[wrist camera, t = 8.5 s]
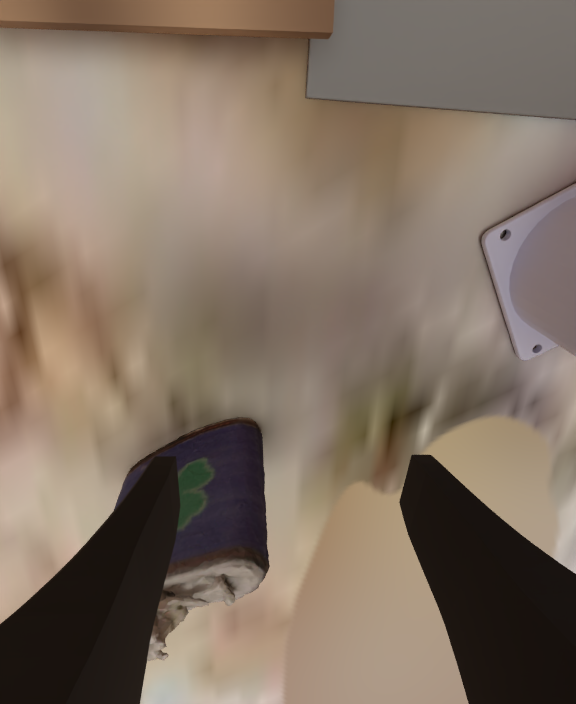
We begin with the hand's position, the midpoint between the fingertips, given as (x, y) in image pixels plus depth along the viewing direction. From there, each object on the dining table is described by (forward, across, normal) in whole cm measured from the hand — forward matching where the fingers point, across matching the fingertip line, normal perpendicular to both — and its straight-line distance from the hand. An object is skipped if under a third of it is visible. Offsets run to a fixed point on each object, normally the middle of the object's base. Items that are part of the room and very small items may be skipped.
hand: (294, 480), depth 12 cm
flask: (+10, +5, +8) cm, 14 cm away
